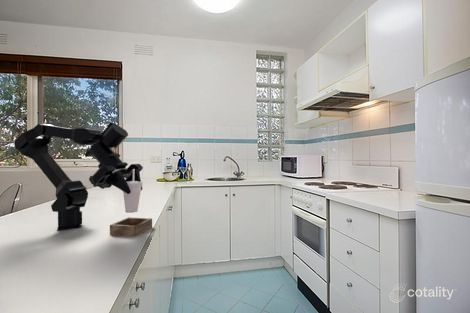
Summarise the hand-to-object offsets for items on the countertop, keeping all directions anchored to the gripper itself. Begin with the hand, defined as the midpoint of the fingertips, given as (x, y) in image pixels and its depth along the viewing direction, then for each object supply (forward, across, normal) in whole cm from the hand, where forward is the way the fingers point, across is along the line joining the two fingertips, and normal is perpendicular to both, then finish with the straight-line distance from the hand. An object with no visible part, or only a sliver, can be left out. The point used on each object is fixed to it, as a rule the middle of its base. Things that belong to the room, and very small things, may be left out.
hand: (135, 191), depth 77 cm
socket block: (+8, 0, -10) cm, 13 cm away
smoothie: (+4, 0, -6) cm, 7 cm away
